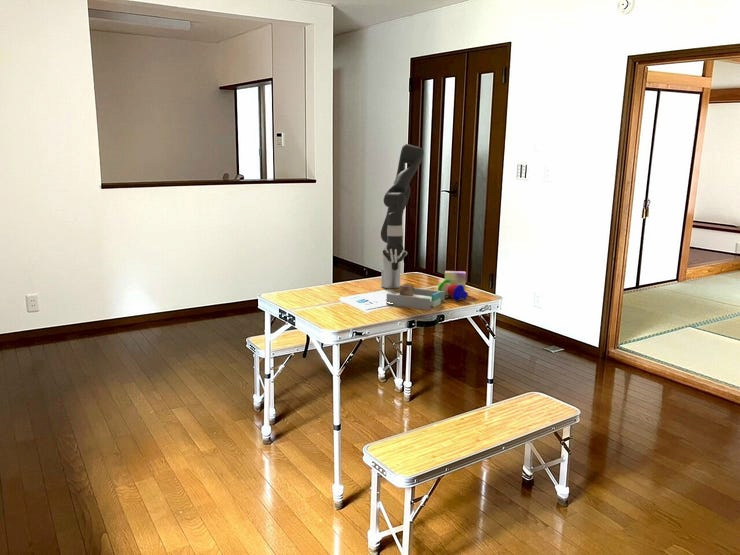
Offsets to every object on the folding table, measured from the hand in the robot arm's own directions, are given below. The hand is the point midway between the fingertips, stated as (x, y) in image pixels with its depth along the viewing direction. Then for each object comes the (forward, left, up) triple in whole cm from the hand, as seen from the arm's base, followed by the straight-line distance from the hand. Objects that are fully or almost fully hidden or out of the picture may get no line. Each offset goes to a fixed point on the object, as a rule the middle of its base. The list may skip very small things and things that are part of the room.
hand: (395, 270), depth 300 cm
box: (+21, +25, -15) cm, 36 cm away
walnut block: (+7, -1, -12) cm, 13 cm away
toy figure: (+24, +15, -15) cm, 32 cm away
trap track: (+12, -1, -15) cm, 19 cm away
